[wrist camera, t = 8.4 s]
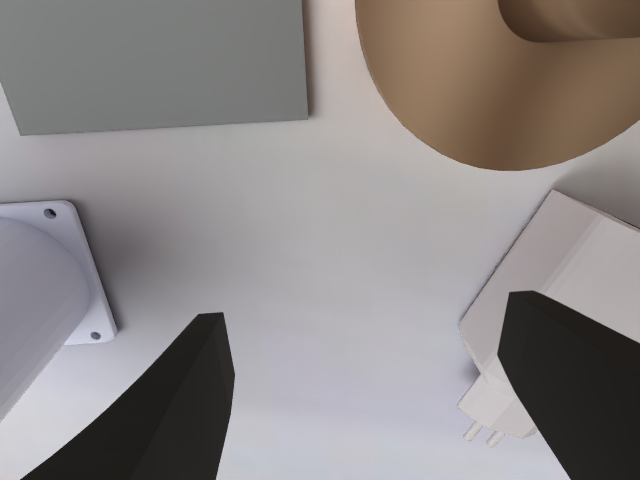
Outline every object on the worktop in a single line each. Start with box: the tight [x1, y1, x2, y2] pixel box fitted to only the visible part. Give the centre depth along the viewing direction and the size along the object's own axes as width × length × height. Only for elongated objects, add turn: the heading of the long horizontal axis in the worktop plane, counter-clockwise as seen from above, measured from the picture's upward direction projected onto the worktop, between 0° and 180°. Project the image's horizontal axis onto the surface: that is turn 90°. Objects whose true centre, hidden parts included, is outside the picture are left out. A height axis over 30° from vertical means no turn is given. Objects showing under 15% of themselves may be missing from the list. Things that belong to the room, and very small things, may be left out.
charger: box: [457, 189, 640, 447], centre depth 21 cm, size 5×9×15 cm
